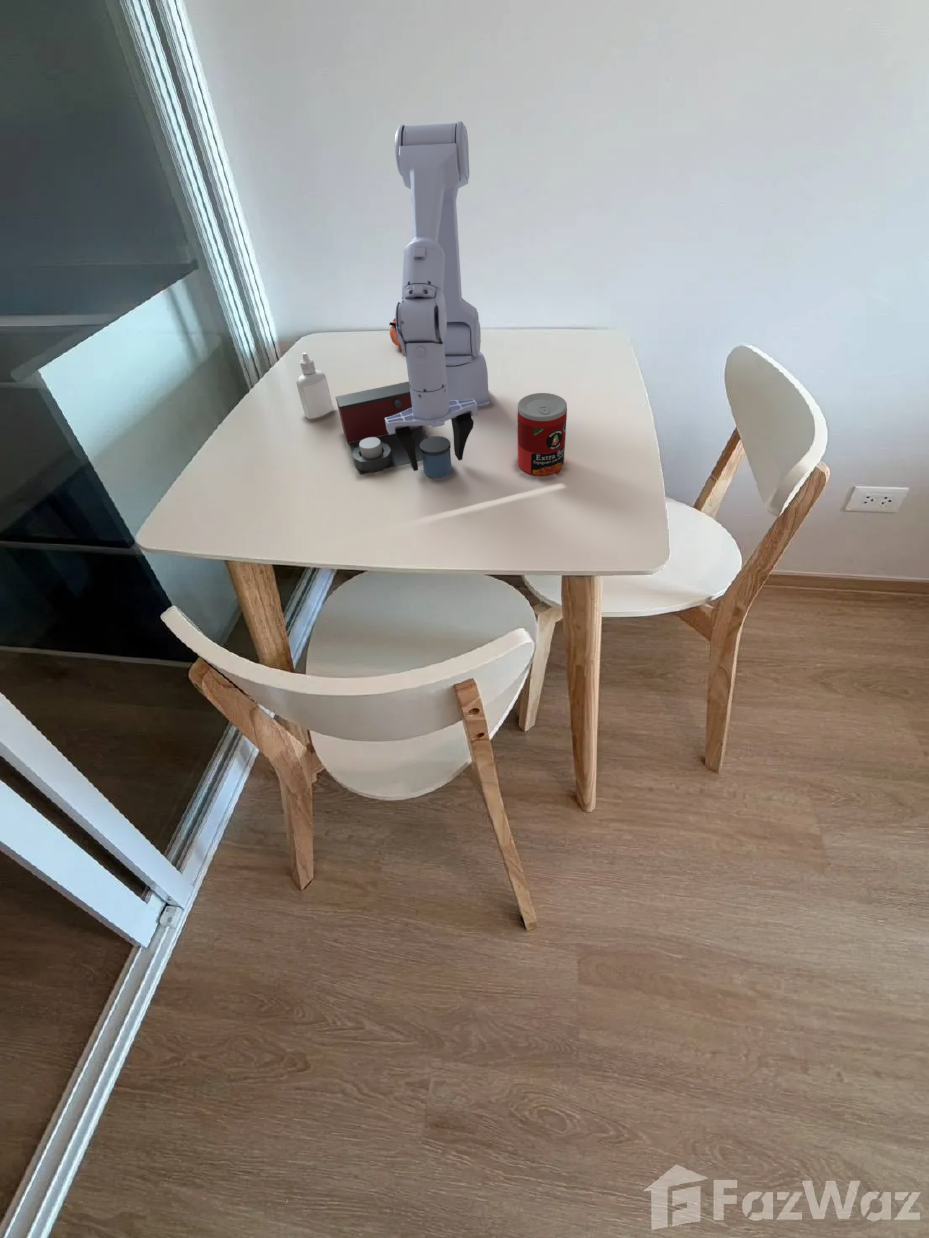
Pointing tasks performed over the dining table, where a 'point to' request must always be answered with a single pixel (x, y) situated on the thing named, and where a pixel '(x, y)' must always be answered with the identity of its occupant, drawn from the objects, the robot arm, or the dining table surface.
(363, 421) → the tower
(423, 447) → the container
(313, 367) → the eye dropper bottle
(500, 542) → the dining table surface
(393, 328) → the pomegranate
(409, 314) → the robot arm
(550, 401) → the canned food
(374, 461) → the dark grey drip tray
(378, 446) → the power button
